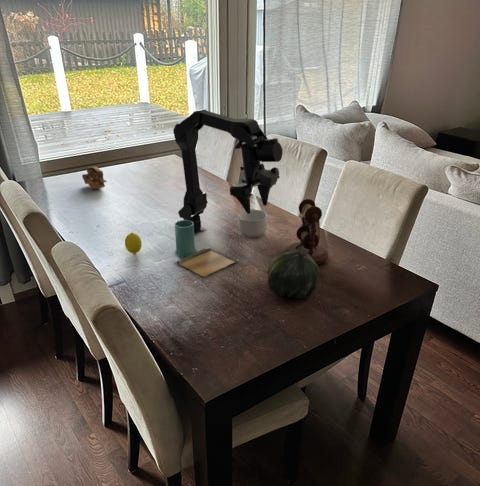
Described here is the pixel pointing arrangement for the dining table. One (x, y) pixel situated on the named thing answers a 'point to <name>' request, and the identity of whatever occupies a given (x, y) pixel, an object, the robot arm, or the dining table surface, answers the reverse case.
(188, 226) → the cup
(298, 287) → the squash
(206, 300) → the dining table surface
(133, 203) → the dining table surface
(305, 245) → the brown spool stand
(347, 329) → the dining table surface
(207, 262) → the cork mat
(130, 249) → the lemon
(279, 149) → the robot arm
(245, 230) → the teacup
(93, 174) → the wooden carving
